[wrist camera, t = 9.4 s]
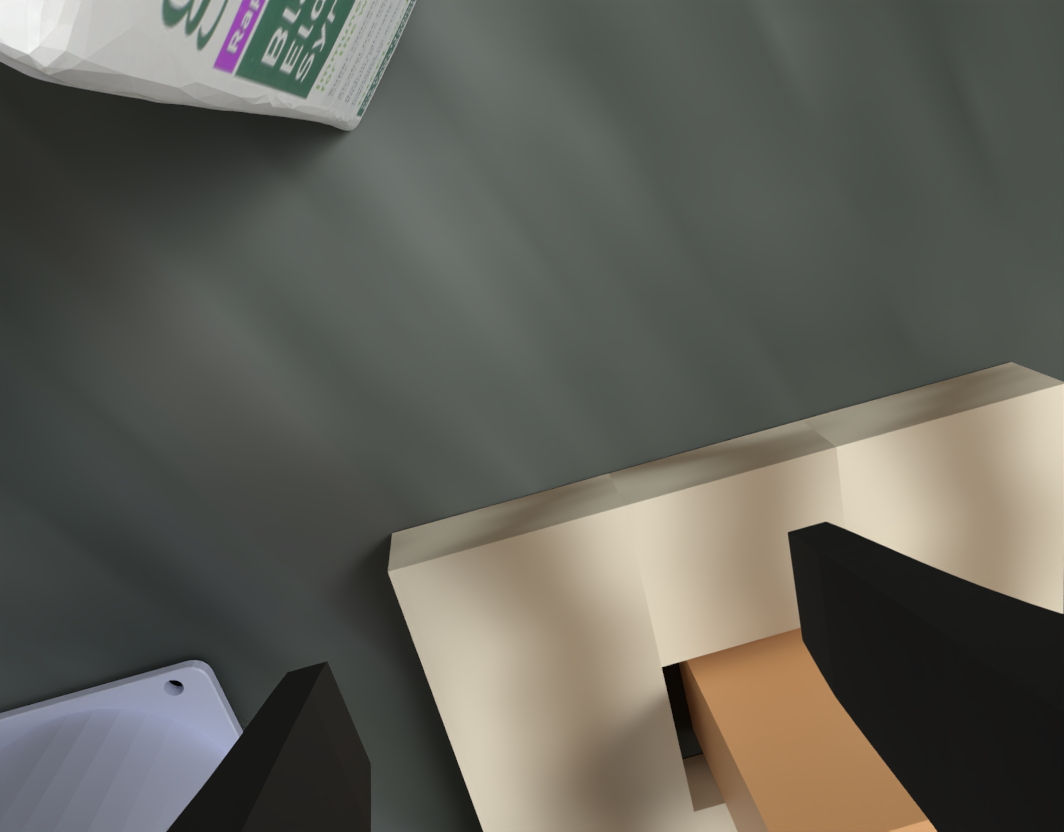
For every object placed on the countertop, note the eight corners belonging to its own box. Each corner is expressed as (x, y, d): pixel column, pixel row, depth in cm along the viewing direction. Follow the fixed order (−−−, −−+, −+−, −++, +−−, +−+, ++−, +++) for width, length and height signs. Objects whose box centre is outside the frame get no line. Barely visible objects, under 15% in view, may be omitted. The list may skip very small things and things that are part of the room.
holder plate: (530, 920, 27) (537, 979, 25) (392, 533, 21) (387, 571, 19) (1016, 778, 27) (1059, 825, 25) (1011, 362, 21) (1066, 383, 19)
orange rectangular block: (692, 728, 25) (804, 985, 17) (671, 628, 23) (783, 861, 16) (810, 694, 25) (973, 935, 17) (796, 593, 23) (967, 808, 16)
